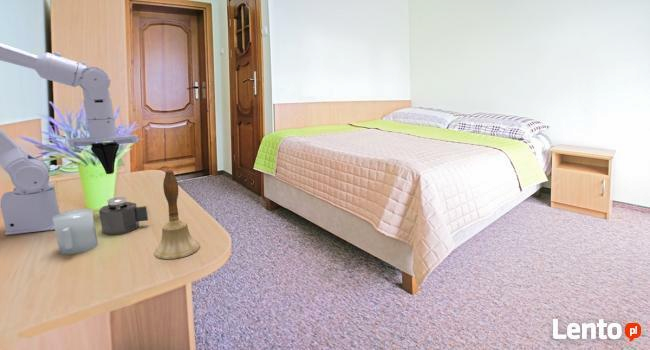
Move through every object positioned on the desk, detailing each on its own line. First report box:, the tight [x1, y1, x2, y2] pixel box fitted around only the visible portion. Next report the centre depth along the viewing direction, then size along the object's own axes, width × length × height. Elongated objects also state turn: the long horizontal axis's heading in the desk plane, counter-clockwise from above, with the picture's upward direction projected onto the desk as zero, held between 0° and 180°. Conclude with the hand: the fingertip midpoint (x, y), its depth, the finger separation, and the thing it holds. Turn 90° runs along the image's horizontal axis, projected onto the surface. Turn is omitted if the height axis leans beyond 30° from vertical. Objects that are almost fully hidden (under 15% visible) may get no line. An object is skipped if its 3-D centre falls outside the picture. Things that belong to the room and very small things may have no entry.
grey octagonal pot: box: [98, 201, 149, 236], centre depth 79 cm, size 9×7×5 cm
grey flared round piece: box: [107, 196, 128, 209], centre depth 78 cm, size 4×4×6 cm
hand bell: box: [154, 169, 201, 260], centre depth 67 cm, size 8×8×16 cm
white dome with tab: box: [52, 208, 99, 256], centre depth 68 cm, size 6×8×7 cm
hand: (110, 173), depth 88 cm, fingers closed
